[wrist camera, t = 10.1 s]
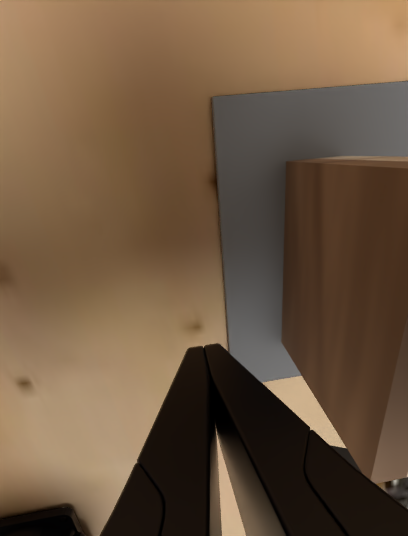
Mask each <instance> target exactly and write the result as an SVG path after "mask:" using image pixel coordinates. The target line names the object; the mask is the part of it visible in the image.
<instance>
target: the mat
mask: <svg viewBox="0 0 408 536" xmlns="http://www.w3.org/2000/svg"><path fill="white" fill-rule="evenodd" d="M212 114H213V128H214V143H215V158H216V172H217V187H218V202H219V217H220V231H221V246H222V261H223V275H224V290H225V305H226V319H227V334H228V349H229V353H230V354H231V355H232V356H233V357H234V358H235V359H236V360H237V361H239V362H240V363H241V364H242V365H243V366H244V367H245V368H246V369H247V370H248V371H249V372H250V373H252V374H253V375H254V376H255V377H256V378H257V379H258V380H259V381H260V382H267V381H272V380H278V379H284V378H290V377H296V376H302V375H301V373H300V372H299V370H298V369H297V367H296V365H295V364H294V362H293V360H292V359H291V357H290V356H289V354H288V352H287V351H286V349H285V348H284V346H283V344H282V343H281V337H282V299H283V261H284V223H285V185H286V161H295V160H305V159H316V158H326V157H336V156H393V157H408V81H402V82H389V83H377V84H364V85H352V86H339V87H327V88H314V89H302V90H289V91H277V92H264V93H252V94H239V95H226V96H214V97H212Z"/></svg>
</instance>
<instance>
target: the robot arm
mask: <svg viewBox="0 0 408 536" xmlns="http://www.w3.org/2000/svg"><path fill="white" fill-rule="evenodd" d="M215 426H216V427H215ZM216 431H217V435H218V439H219V443H220V447H221V450H222V454H223V457H224V460H225V464H226V467H227V471H228V474H229V478H230V481H231V484H232V488H233V491H234V495H235V498H236V502H237V505H238V509H239V512H240V515H241V519H242V522H243V526H244V529H245V533H246V536H408V509H407V508H406V507H404V506H403V505H402V504H401V503H399V502H398V501H397V500H395V499H394V498H393V497H392V496H390V495H389V494H388V493H386V492H385V491H384V490H382V489H381V488H380V487H379V486H377V485H376V484H375V483H374V482H372V481H371V480H370V479H369V478H368V477H366V476H365V475H364V474H363V473H361V472H360V471H359V470H358V469H356V468H355V467H354V466H353V465H351V464H350V463H349V462H348V461H347V460H346V459H345V458H343V457H342V456H341V455H340V454H339V453H338V452H337V451H335V450H334V449H333V448H332V447H331V446H330V445H329V444H328V443H326V442H325V441H324V440H323V439H322V438H321V437H320V436H319V435H318V434H317V433H316V432H315V431H313V430H310V427H309V426H308V425H307V424H306V423H305V422H304V421H302V420H301V419H300V418H299V417H298V416H297V415H296V414H295V413H294V412H293V411H292V410H291V409H289V408H288V407H287V406H286V405H285V404H284V403H283V402H282V401H281V400H280V399H279V398H278V397H276V396H275V395H274V394H273V393H272V392H271V391H270V390H269V389H268V388H267V387H266V386H265V385H263V384H262V383H261V382H260V381H259V380H258V379H257V378H256V377H255V376H254V375H253V374H252V373H250V372H249V371H248V370H247V369H246V368H245V367H244V366H243V365H242V364H241V363H240V362H239V361H237V360H236V359H235V358H234V357H233V356H232V355H231V354H230V353H229V352H228V351H227V350H226V349H224V348H223V347H222V346H221V345H220V344H218V343H216V344H209V345H205V346H204V348H203V346H197V347H190V348H188V349H187V351H186V354H185V356H184V358H183V360H182V362H181V365H180V367H179V369H178V371H177V373H176V376H175V378H174V380H173V382H172V384H171V386H170V389H169V391H168V393H167V395H166V397H165V400H164V402H163V404H162V406H161V408H160V411H159V413H158V415H157V417H156V419H155V422H154V424H153V426H152V428H151V430H150V433H149V435H148V437H147V439H146V441H145V444H144V446H143V448H142V450H141V452H140V455H139V457H138V459H137V463H136V464H135V465H134V467H133V470H132V472H131V474H130V476H129V478H128V481H127V483H126V485H125V487H124V489H123V491H122V493H121V495H120V497H119V499H118V501H117V503H116V505H115V507H114V509H113V512H112V514H111V516H110V517H109V519H108V521H107V523H106V525H105V526H104V528H103V530H102V532H101V534H100V536H222V530H221V510H220V491H219V471H218V451H217V436H216ZM0 536H85V534H84V533H83V531H82V528H81V526H80V524H79V522H78V519H77V517H76V515H75V513H74V511H73V509H71V508H68V507H64V508H58V509H53V510H48V511H43V512H38V513H33V514H28V515H23V516H18V517H12V518H7V519H2V520H0Z"/></svg>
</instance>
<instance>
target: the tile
mask: <svg viewBox="0 0 408 536" xmlns="http://www.w3.org/2000/svg"><path fill="white" fill-rule="evenodd" d="M281 343H282V344H283V346H284V348H285V349H286V351H287V352H288V354H289V356H290V357H291V359H292V360H293V362H294V364H295V365H296V367H297V369H298V370H299V372H300V373H301V375H302V377H303V378H304V380H305V381H306V383H307V385H308V386H309V388H310V389H311V391H312V393H313V394H314V396H315V398H316V399H317V401H318V402H319V404H320V406H321V407H322V409H323V410H324V412H325V414H326V415H327V417H328V419H329V420H330V422H331V423H332V425H333V427H334V428H335V430H336V431H337V433H338V435H339V436H340V438H341V440H342V441H343V443H344V444H345V446H346V448H347V449H348V451H349V452H350V454H351V456H352V457H353V459H354V460H355V462H356V464H357V465H358V467H359V469H360V470H361V472H362V473H363V474H364V475H365V476H366V477H368V478H369V479H370V480H371V481H372V482H374V483H375V484H376V483H381V482H386V481H391V480H395V479H400V478H405V477H408V157H393V156H336V157H326V158H316V159H305V160H295V161H286V185H285V223H284V261H283V299H282V337H281Z"/></svg>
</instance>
